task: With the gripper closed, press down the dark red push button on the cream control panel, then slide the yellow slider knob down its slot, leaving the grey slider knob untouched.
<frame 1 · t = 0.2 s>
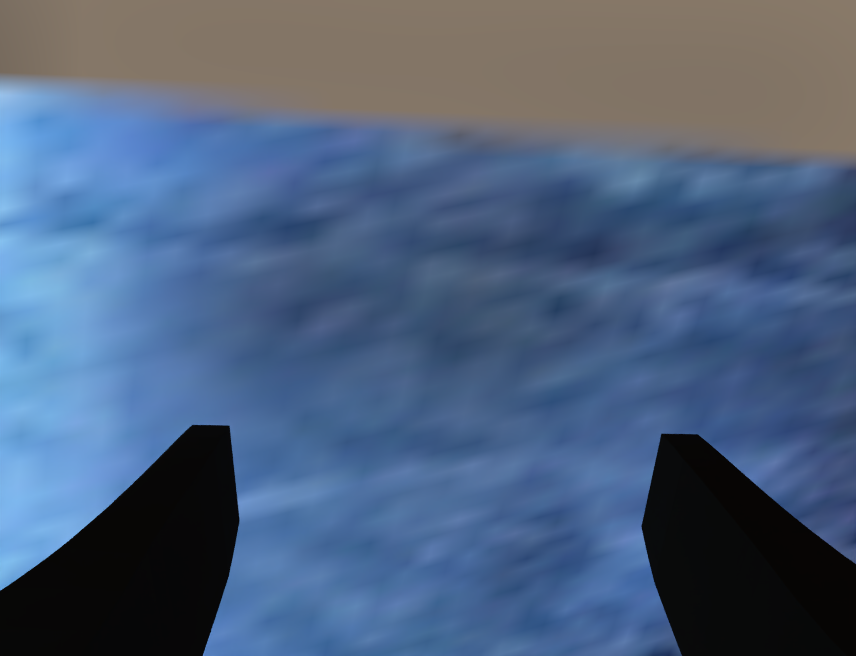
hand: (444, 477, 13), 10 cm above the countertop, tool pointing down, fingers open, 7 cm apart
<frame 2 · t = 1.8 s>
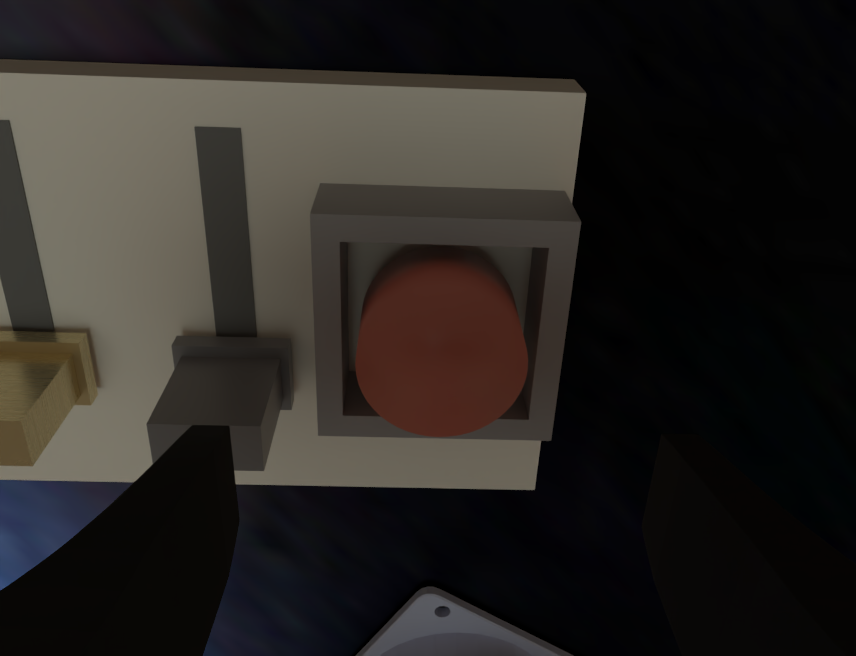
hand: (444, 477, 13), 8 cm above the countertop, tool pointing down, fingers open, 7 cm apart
red button: (440, 340, 17), point 4 cm above the countertop, slide at 0.0 cm
panel: (246, 283, 21), on the countertop
grey slider knob: (222, 404, 18), point 3 cm above the countertop, slide at 0.0 cm
yellow slider knob: (5, 399, 18), point 3 cm above the countertop, slide at 0.0 cm
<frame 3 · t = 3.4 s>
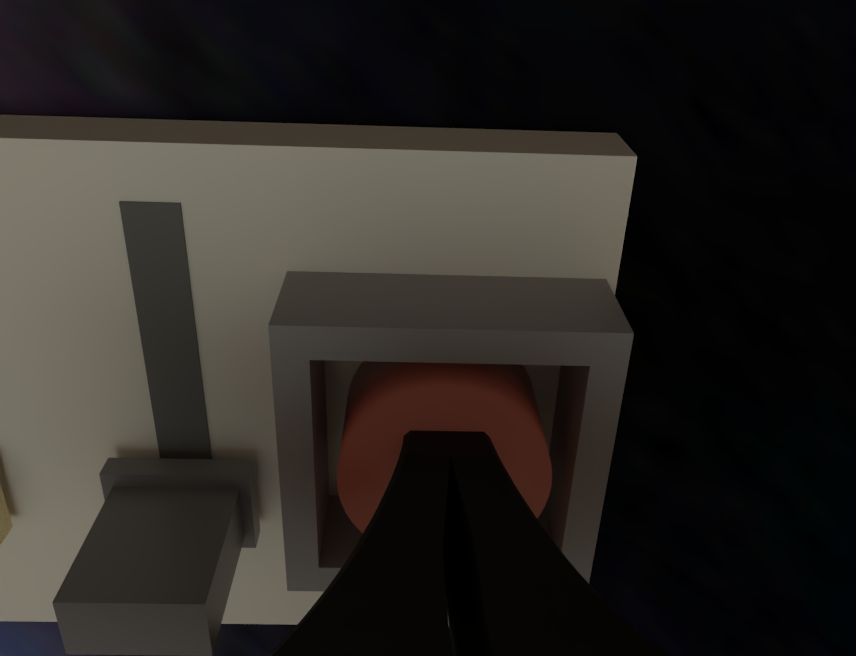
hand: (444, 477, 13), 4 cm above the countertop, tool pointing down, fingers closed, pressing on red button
red button: (442, 442, 14), point 3 cm above the countertop, slide at 1.1 cm, touching gripper
panel: (200, 382, 16), on the countertop
grey slider knob: (163, 555, 14), point 3 cm above the countertop, slide at 0.0 cm
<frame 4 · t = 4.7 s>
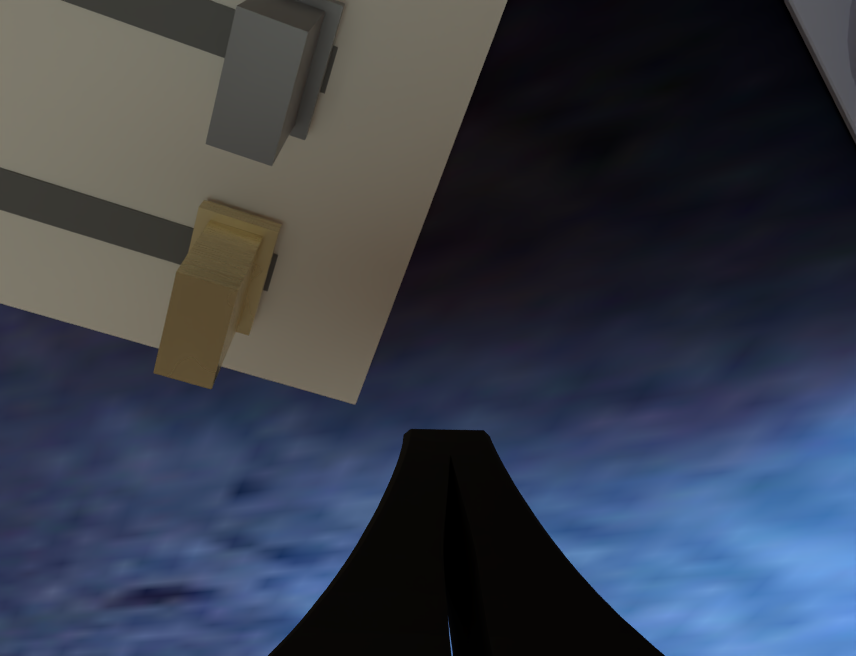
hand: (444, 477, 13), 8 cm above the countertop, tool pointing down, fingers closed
panel: (230, 19, 18), on the countertop
grey slider knob: (270, 71, 15), point 3 cm above the countertop, slide at 0.0 cm
yellow slider knob: (213, 296, 17), point 3 cm above the countertop, slide at 0.0 cm
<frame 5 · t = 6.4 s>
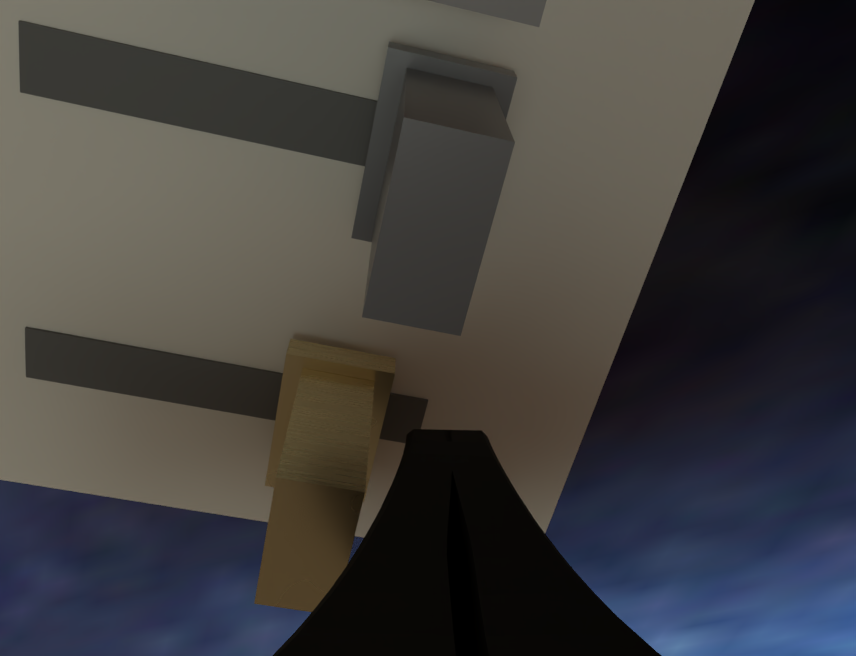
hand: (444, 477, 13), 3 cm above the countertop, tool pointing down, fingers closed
panel: (340, 102, 13), on the countertop
grey slider knob: (431, 187, 10), point 3 cm above the countertop, slide at 0.0 cm
yellow slider knob: (319, 474, 12), point 3 cm above the countertop, slide at 0.7 cm, touching gripper
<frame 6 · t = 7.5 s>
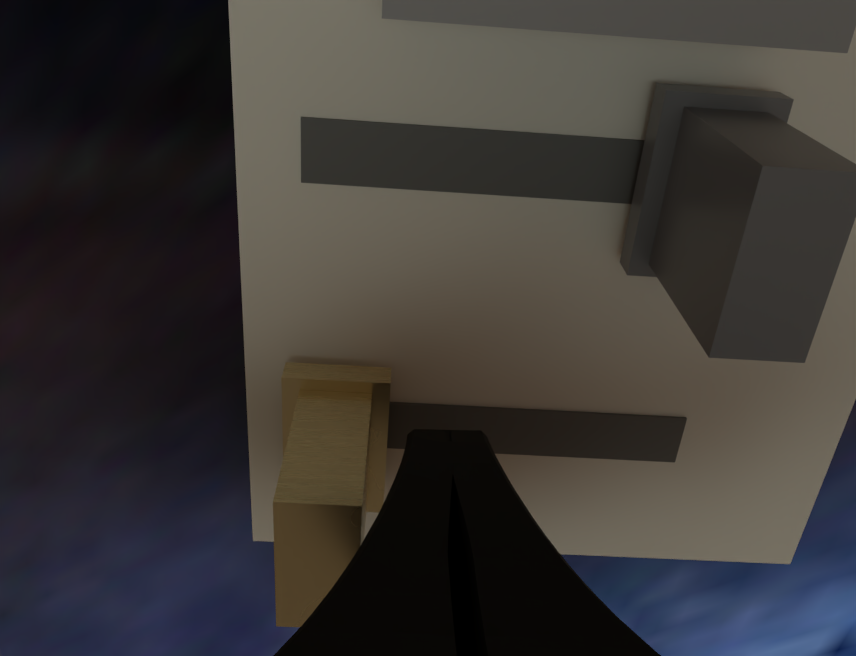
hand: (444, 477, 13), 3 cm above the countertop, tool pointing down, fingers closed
panel: (576, 143, 13), on the countertop
grey slider knob: (733, 220, 10), point 3 cm above the countertop, slide at 0.0 cm
yellow slider knob: (328, 492, 13), point 3 cm above the countertop, slide at 5.3 cm, touching gripper
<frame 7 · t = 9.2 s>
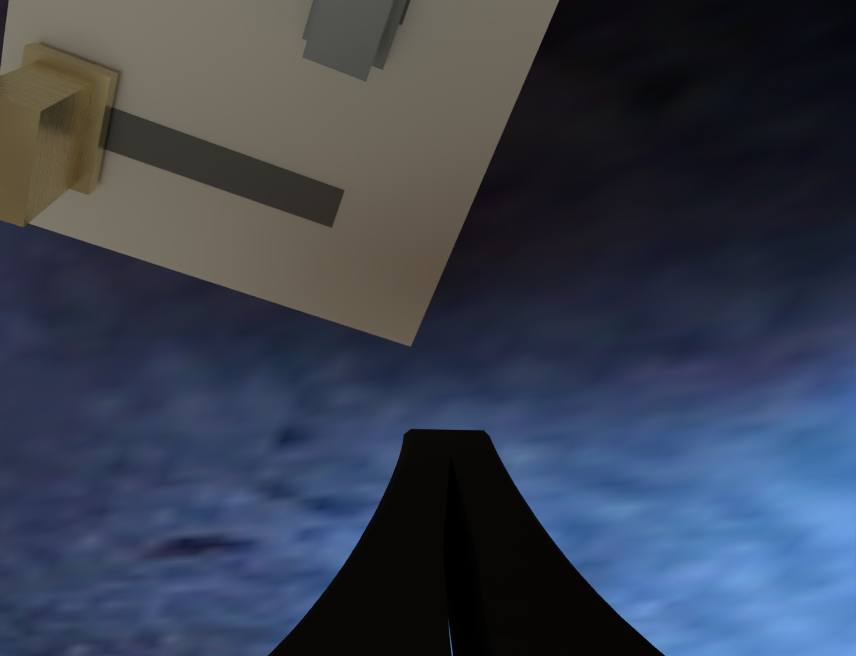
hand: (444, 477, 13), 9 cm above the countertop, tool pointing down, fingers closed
yellow slider knob: (35, 137, 16), point 3 cm above the countertop, slide at 5.4 cm
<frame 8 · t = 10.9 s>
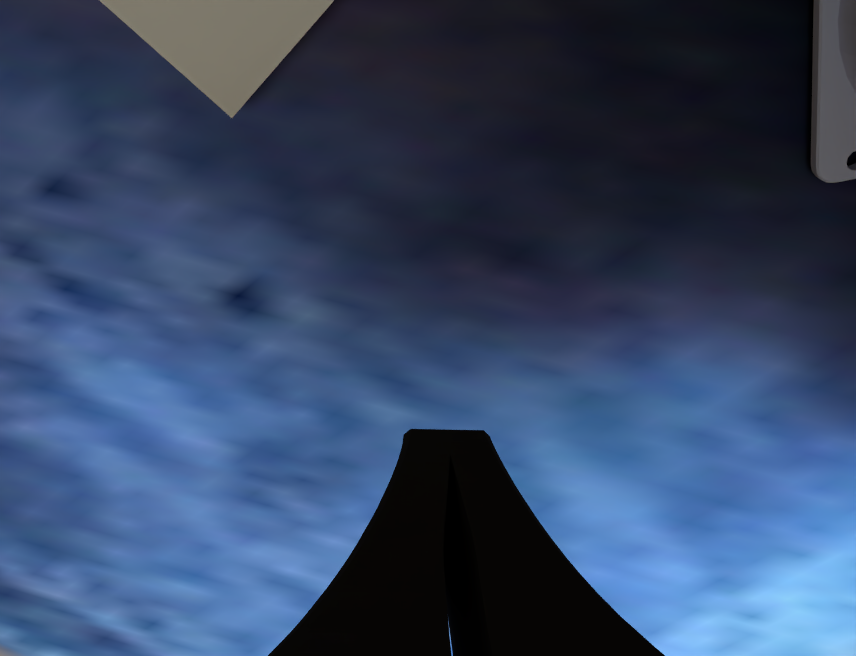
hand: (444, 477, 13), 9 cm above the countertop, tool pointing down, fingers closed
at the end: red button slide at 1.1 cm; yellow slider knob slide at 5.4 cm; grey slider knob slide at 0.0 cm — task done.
